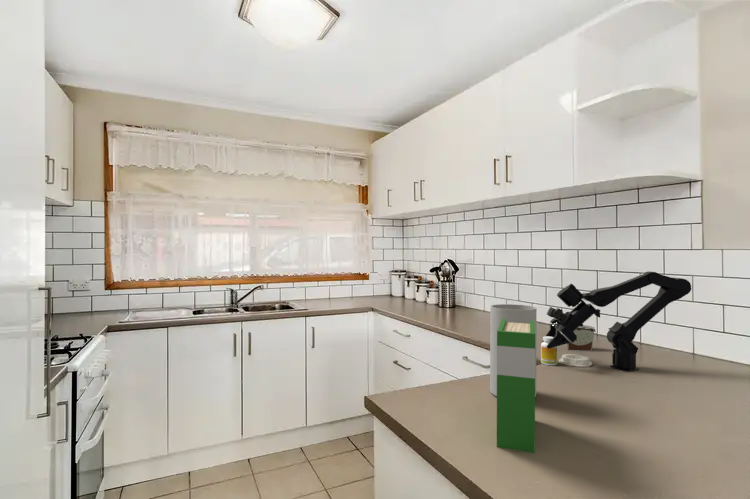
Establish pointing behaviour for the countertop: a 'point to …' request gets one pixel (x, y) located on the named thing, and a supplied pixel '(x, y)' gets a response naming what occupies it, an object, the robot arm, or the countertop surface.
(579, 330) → the food container
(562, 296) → the robot arm
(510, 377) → the hardback book
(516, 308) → the cylinder vase
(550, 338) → the supplement bottle
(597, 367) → the countertop surface
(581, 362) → the holder ring
